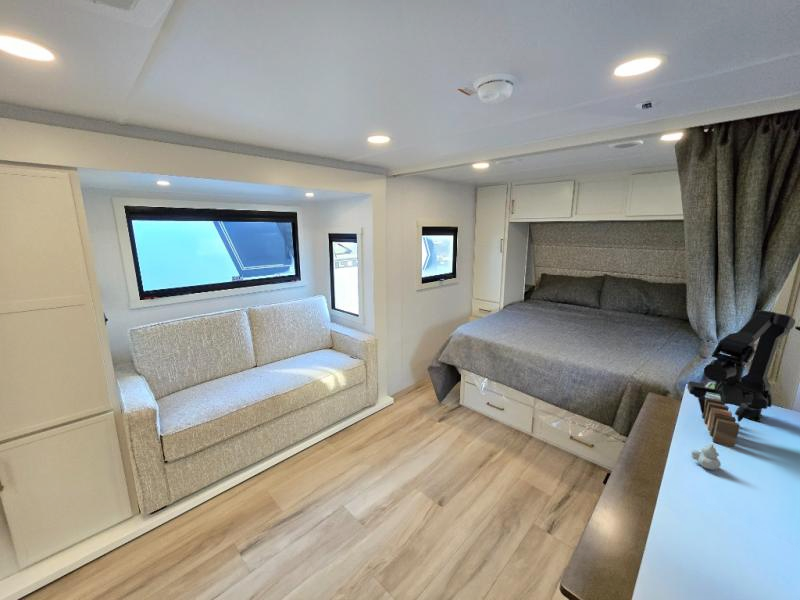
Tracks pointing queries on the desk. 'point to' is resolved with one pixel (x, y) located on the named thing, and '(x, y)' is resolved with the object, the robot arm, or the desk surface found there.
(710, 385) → the handheld gaming console
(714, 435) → the domino
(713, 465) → the grey lumpy figure
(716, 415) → the domino
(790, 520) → the desk surface
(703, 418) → the domino
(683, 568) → the desk surface
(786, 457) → the desk surface
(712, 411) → the domino
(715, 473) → the desk surface
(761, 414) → the robot arm
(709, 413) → the domino
